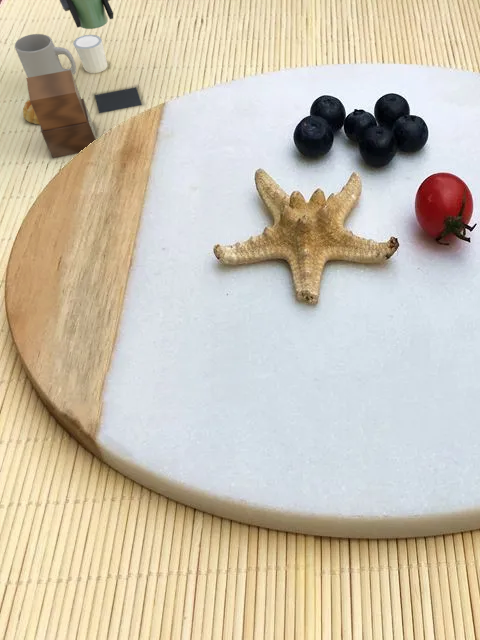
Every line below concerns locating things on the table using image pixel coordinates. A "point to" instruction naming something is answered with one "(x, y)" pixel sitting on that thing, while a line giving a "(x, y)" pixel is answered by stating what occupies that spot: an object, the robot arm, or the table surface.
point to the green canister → (90, 13)
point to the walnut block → (61, 113)
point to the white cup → (91, 53)
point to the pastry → (30, 113)
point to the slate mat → (118, 100)
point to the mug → (41, 55)
